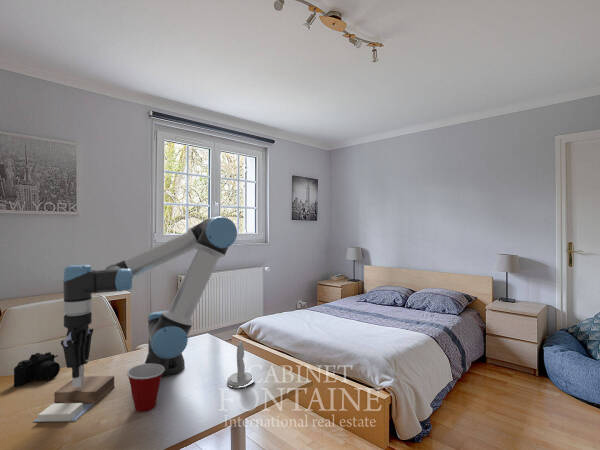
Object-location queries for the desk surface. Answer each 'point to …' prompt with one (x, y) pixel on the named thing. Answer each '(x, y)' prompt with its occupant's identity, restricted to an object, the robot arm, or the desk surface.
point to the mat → (85, 408)
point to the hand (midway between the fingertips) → (78, 385)
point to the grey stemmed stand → (239, 370)
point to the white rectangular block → (60, 412)
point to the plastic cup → (145, 385)
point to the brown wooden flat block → (85, 390)
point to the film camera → (36, 369)
